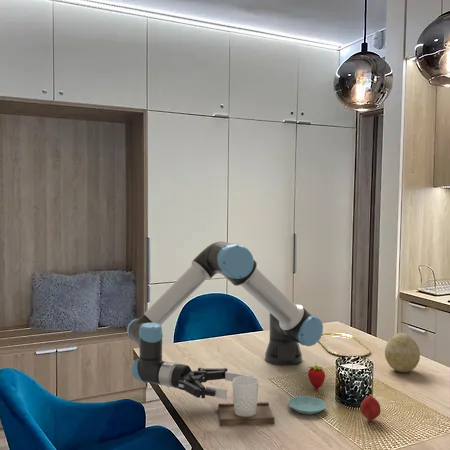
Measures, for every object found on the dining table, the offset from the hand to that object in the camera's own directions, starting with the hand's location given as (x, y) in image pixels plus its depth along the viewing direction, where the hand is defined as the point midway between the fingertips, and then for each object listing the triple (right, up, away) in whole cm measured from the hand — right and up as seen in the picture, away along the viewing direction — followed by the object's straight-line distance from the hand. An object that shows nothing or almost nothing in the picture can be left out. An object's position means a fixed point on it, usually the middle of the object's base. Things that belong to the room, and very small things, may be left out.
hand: (235, 386), depth 148 cm
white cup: (+3, -8, -1) cm, 8 cm away
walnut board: (+3, -9, -1) cm, 9 cm away
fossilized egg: (+65, -7, +39) cm, 76 cm away
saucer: (+23, -9, +4) cm, 25 cm away
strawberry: (+29, -8, +20) cm, 36 cm away
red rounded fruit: (+40, -9, -3) cm, 41 cm away
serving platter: (+50, -6, +71) cm, 87 cm away
